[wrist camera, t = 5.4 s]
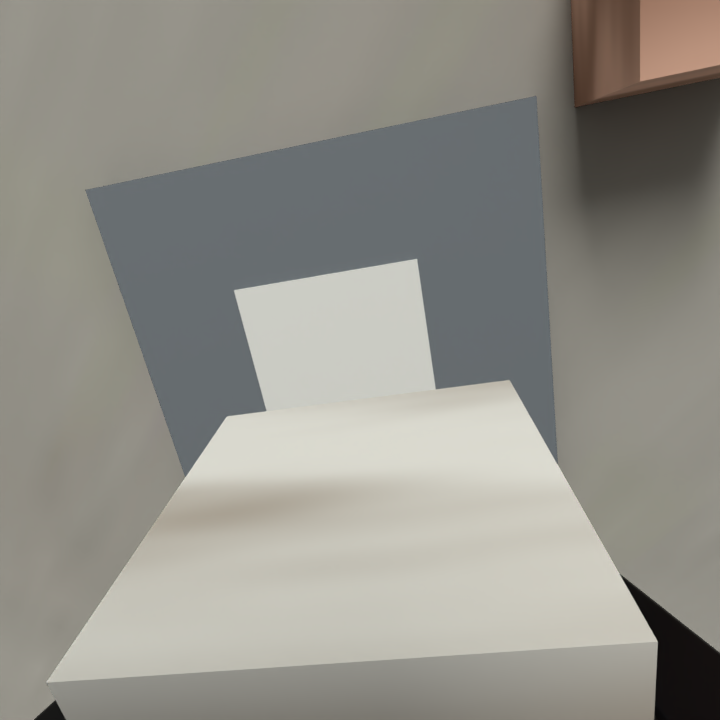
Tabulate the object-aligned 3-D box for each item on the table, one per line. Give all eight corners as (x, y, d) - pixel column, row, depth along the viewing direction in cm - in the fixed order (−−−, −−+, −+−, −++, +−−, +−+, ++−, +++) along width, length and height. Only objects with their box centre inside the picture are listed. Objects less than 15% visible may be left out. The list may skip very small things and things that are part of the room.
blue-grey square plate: (553, 494, 22) (560, 509, 21) (216, 529, 24) (207, 544, 23) (528, 100, 17) (536, 95, 16) (100, 189, 19) (83, 189, 18)
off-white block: (525, 604, 10) (640, 979, 5) (287, 623, 11) (205, 976, 6) (509, 379, 8) (659, 641, 4) (226, 416, 9) (46, 683, 4)
